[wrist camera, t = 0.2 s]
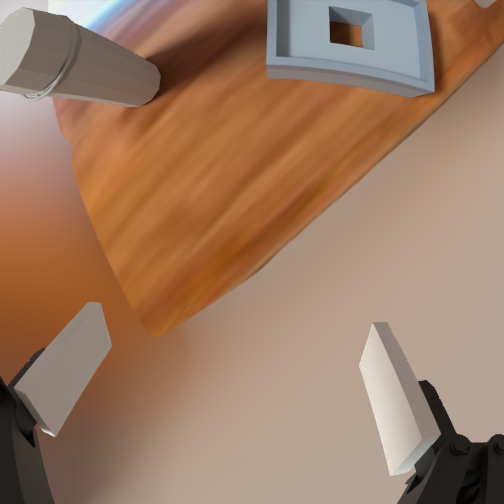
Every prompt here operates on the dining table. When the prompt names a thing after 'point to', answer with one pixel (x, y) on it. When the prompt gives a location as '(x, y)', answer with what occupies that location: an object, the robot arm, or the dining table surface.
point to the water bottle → (70, 62)
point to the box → (349, 57)
